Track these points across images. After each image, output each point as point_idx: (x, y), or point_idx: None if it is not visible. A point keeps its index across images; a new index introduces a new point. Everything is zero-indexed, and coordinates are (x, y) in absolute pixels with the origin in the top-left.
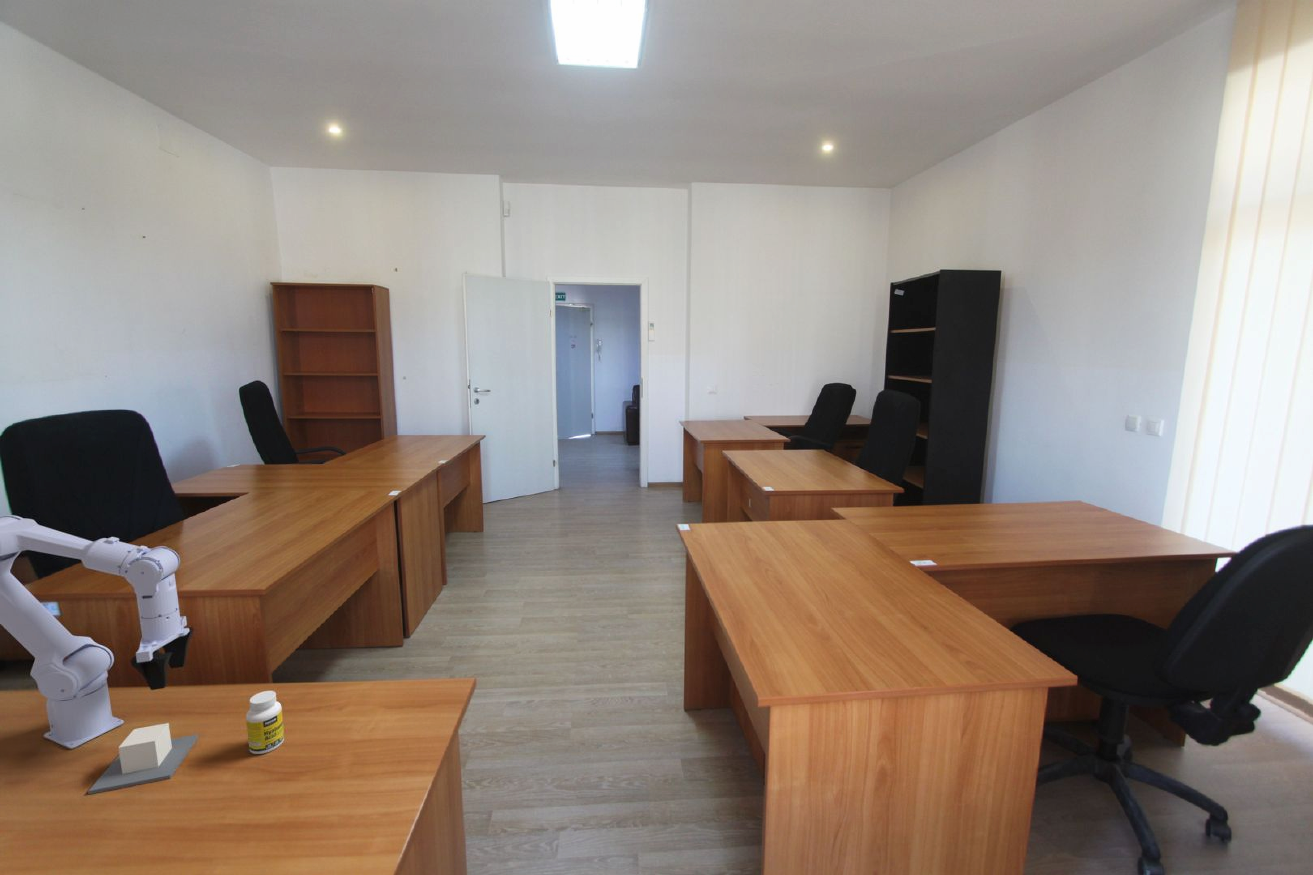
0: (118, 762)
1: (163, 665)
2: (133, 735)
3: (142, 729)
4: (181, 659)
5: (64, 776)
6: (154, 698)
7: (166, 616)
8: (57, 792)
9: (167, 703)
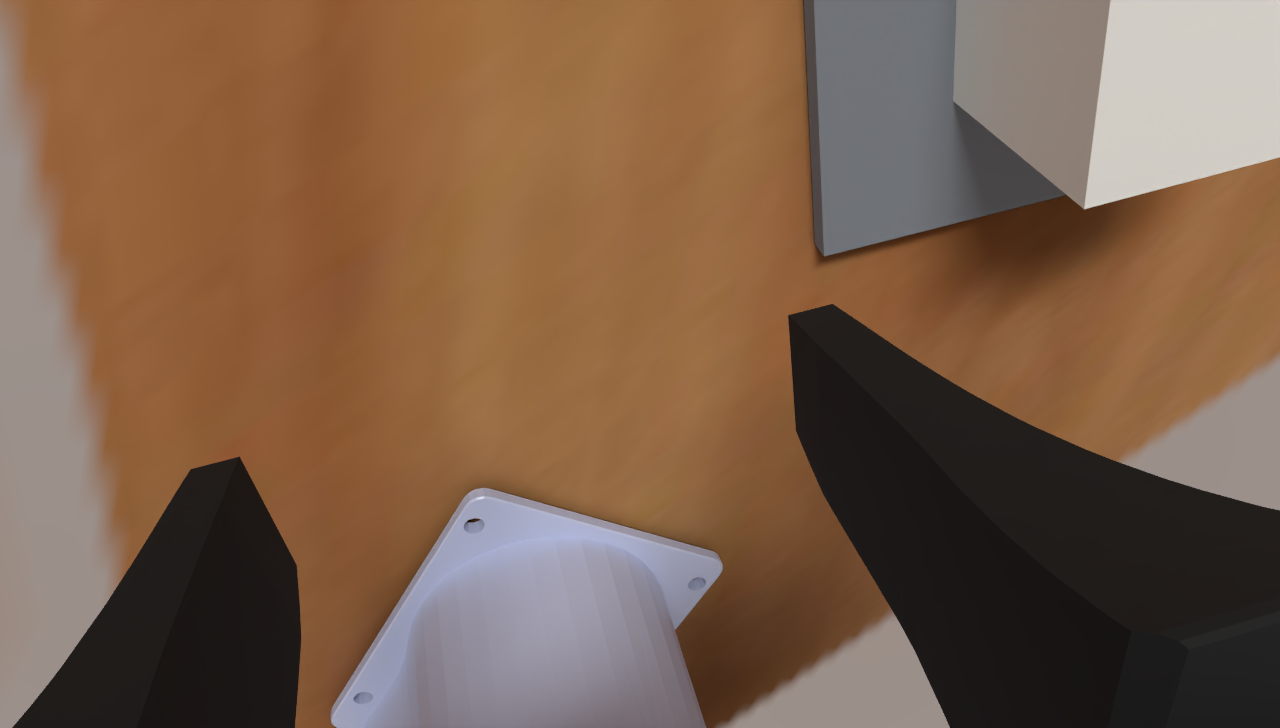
0: (1006, 173)
1: (1210, 495)
2: (1200, 138)
3: (1125, 124)
4: (228, 557)
5: None
6: (121, 528)
7: None
8: (1127, 326)
9: (187, 387)
